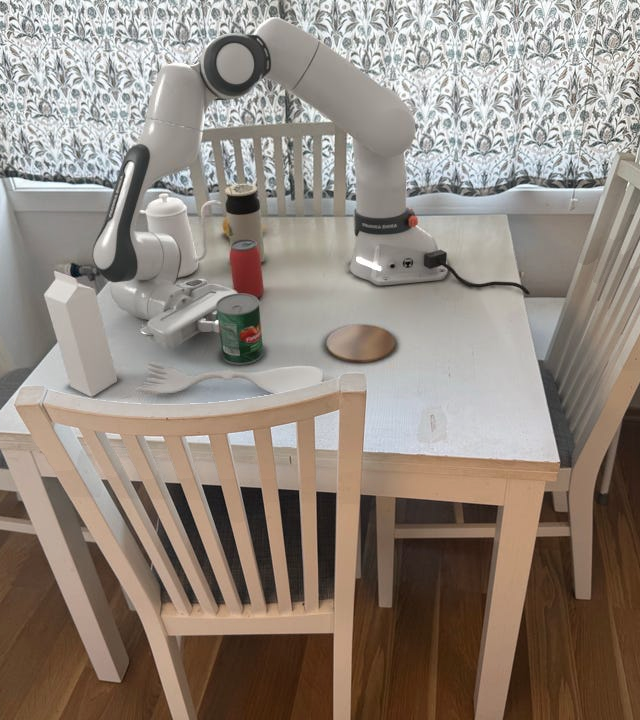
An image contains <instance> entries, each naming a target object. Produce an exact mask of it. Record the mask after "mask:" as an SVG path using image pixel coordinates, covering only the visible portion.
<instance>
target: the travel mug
mask: <svg viewBox="0 0 640 720" xmlns="http://www.w3.org/2000/svg"><path fill="white" fill-rule="evenodd" d="M257 191H258V187H257V185H255V184H252V183H236V184H233V185H230V186H227V187H225V189H224V193H225V194H226V201H225V212H226V218H227V221H228V230H229V237H228V238H229V246H230V247H231V244H232V243H233V242H235V241H237V240H242V239H250V240H254V241H256V243H257V246H258V248H259V250H260V256H261V263H263V262H264V261H265V259H266V256H265V247H264V246H265V245H264V236H263V232H262V224H263V222H262V212H261V211H262V210H261V201H260V199H259V198H258V196H257Z"/></svg>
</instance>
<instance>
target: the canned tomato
mask: <svg viewBox="0 0 640 720" xmlns="http://www.w3.org/2000/svg"><path fill="white" fill-rule="evenodd" d="M259 300H260V299H258V298H256V297H255V296H253V295H250V294H244V293H238V294H231V295H227V296H225V297H223V298H221V299H219V300H218V302H217V303H216V308H217V316H218V324H219V332H220V333H219V338H220V346H221V357H222V359H223V360H224V361H225V362H226V363H228V364H232V365H236V366H244V365H249V364H253V363H256V362H257V361H259V360H260V359H261V358H263V355H264V347H263V345H264V344H263V333H262V332H263V331H262V321H261V311H260V301H259Z"/></svg>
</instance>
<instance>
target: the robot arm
mask: <svg viewBox="0 0 640 720" xmlns="http://www.w3.org/2000/svg"><path fill="white" fill-rule="evenodd" d="M264 79H265V80H270V81H271V82H274V83H276V84H278V85H279V86H280V87H282V88H283V89H284V90H286V91H288V92H289V93H290V94H292V95H293V96H295V97H296V98H297V99H300V101H302V102H304V103H305V104H307V105H308V106H310V107H311V108H313V109H314V110H316V111H317V112H318V113H320V114H321V115H323V116H324V117H325V118H327V119H328V120H329V121H331V122H332V123H333V124H334V125H336V126H337V127H338V128H339V129H341V130H342V131H344V132H345V133H346V134H347V135H349V136H350V137H351V138H352V150H353V151H352V152H353V162H354V171H355V209H354V212H353V232H354V247H353V253H352V258H351V261H350V265H349V271H350V272H351V273H352V275H354V276H356V277H357V278H360V279H363V280H366V281H369V282H371V283H373V284H374V285H376V286H390V285H393V286H394V285H403V284H412V283H423V282H434V281H441V280H444V279H445V278H446V277H447V275H448V273H449V272H450V273H451V274H452V275H453V277H454V278H455V279H456V280H457V281H458V282H460V283H461V284H463V285H465V286H467V287H471V288H478V289H479V288H481V289H482V288H487V287H491V286H510V287H516V288H518V289H520V290H521V291H522V292H524V294H526V295H530V294H531V292H530V291H529V290H528V289H527V288H526V287H525V286H524V285H522V284H520V283H518V282H514V281H489V282H483V283H474V282H469V281H467V280H465V279H464V278H462V277H461V276H460V275H459V274H458V273H457V271H456V270H455V269H454V268H453V267H452V266H450V265H449V264H448V261H447V257H448V252H447V251H444V250H442V249H439V248H438V245H437V242H436V240H435V238H434V236H432V235H431V234H430V233H429V232H427V231H425V229H423V228H421V227H420V226H418V223H419V219H418V217H417V216H416V213H415V211H414V208H413V207H412V206H411V207H410V208H409V207H408V206H407V191H408V190H407V189H408V188H407V187H408V172H407V165H406V157H405V152H406V151H407V150H408V149H409V148H410V147H411V146H412V144H413V142H414V139H415V136H416V124H415V123H416V122H415V117H414V114H413V111H412V110H411V108H410V106H408V105H407V103H405V102H404V101H403V99H402V98H400V96H399V95H397V93H395V91H393V90H392V89H391V88H389V87H387V86H385V85H384V86H383V85H381V84H379V83H378V82H377V81H375V80H374V78H372V77H370V76H369V75H367V74H366V73H365V72H364V71H362V70H361V69H360V68H359V67H357V66H356V65H355V64H353V63H352V62H351V61H349V60H347V59H346V58H345V57H344V56H342V55H341V54H339V53H338V52H337V51H335V50H334V49H332V48H331V47H329V46H328V45H327V44H325V42H322V41H321V40H320V39H319V38H317V37H315V36H314V35H313V34H311V33H309V32H308V31H306V30H305V29H302V28H300V27H299V26H297V25H295V24H293V23H291V22H289V21H286V20H284V19H283V18H280V17H269V18H267V19H266V20H264V21H263V22H262V23H261V24H260V25H258V26H257V28H256V30H255V31H254V32H253V34H250V33H237V32H236V33H235V32H230V33H229V32H228V33H224V34H221V35H219V36H217V37H216V38H214V39H212V40H211V41H210V42H209V43H208V44H207V45H206V46H205V47H204V48H203V50H202V51H201V54H200V55H199V57H198V58H197V59H196V60H195V62H194V63H193V64H186V63H182V62H172V63H168V64H166V65H164V66H162V67H161V68H160V69H159V71H158V73H157V76H156V78H155V81H154V84H153V86H152V90H151V94H150V98H149V101H148V105H147V111H146V116H145V117H146V118H145V121H144V126H143V129H142V132H141V134H140V136H139V138H138V140H137V142H135V144H134V145H133V146H131V147H130V148H129V149H128V150H127V151H126V153H125V155H124V157H123V160H122V163H121V166H120V169H119V171H118V175H117V177H116V181H115V184H114V188H113V191H112V195H111V198H110V201H109V205H108V208H107V212H106V215H105V218H104V221H103V224H102V227H101V229H100V231H99V233H98V235H97V237H96V239H95V241H94V244H93V247H92V252H91V253H92V255H91V257H92V261H93V264H94V266H95V268H96V270H97V271H98V272H99V274H100V275H101V276H102V277H103V278H104V279H105V280H107V281H108V282H110V283H111V285H110V294H111V295H110V296H111V298H112V300H113V302H114V303H115V304H116V305H117V306H118V308H120V309H121V310H122V311H124V312H126V313H128V314H129V315H132V316H133V317H136V318H139V319H141V320H145V321H146V322H144V323H142V324H141V326H140V328H139V333H140V335H143V336H144V337H149V339H150V340H151V341H153V342H154V343H156V344H157V345H159V346H161V347H163V348H164V349H175V348H176V347H178V346H180V345H181V344H182V343H184V342H186V341H188V340H189V339H191V338H193V337H194V336H196V335H198V334H200V333H202V332H203V333H208V332H209V333H210V332H214V333H217V334H220V332H219V324H218V316H217V308H216V303H217V302H218V300H219V299H221V298H223V297H225V296H227V295H231V294H238V292H237V291H236V290H234V288H231V287H229V286H226V285H223V284H219V283H208V280H207V279H205V278H197V279H194V280H189V281H185V282H179V283H177V281H178V278H177V277H178V274H179V270H180V266H181V251H180V248H179V245H178V244H177V242H176V240H175V239H174V238H173V237H172V236H171V235H169V234H166V233H155V232H149V231H136V230H135V229H136V226H137V222H138V219H139V215H140V214H141V213H140V210H142V206H143V203H144V199H145V196H146V193H147V192H148V190H149V189H150V187H151V186H152V185H153V184H155V183H156V182H157V181H159V180H161V179H163V178H166V177H168V176H172V175H175V174H177V173H180V172H182V171H184V170H186V169H188V168H189V167H190V166H191V165H192V164H193V163H195V161H196V159H197V158H198V155H199V152H200V150H201V145H202V141H203V133H204V128H205V122H206V117H207V113H208V110H209V108H210V106H211V104H212V103H213V102H214V101H229V100H230V101H231V100H237V99H241V98H242V97H244V96H245V95H247V94H248V93H250V92H251V91H252V90H254V89H255V87H257V85H259V84H260V82H262V80H264ZM139 213H140V214H139Z"/></svg>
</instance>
